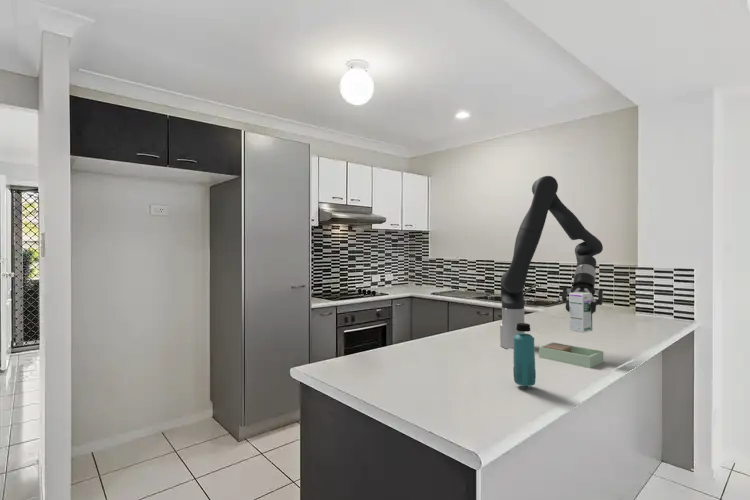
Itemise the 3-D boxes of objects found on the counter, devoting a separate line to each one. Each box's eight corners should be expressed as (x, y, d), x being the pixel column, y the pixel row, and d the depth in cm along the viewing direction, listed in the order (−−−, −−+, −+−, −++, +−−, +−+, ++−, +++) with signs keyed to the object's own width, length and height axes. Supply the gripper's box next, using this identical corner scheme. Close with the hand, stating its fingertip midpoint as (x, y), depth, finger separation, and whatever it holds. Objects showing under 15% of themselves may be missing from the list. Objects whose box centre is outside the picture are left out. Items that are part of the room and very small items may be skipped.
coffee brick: (543, 357, 160) (543, 346, 160) (553, 353, 165) (553, 343, 165) (561, 360, 154) (561, 350, 154) (571, 356, 160) (571, 346, 159)
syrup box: (583, 333, 151) (583, 293, 151) (568, 330, 156) (568, 292, 156) (592, 331, 154) (592, 292, 154) (578, 328, 159) (578, 291, 159)
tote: (538, 358, 160) (538, 347, 160) (553, 353, 167) (553, 342, 167) (590, 369, 145) (589, 356, 145) (603, 363, 152) (603, 351, 152)
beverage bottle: (539, 391, 125) (538, 325, 124) (517, 391, 125) (516, 325, 125) (531, 383, 131) (530, 321, 131) (510, 384, 131) (509, 321, 131)
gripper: (563, 271, 165) (558, 303, 156) (604, 272, 157) (600, 306, 148) (566, 283, 170) (560, 315, 160) (605, 285, 161) (602, 319, 152)
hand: (580, 311), depth 154 cm, fingers closed on syrup box, 7 cm apart
